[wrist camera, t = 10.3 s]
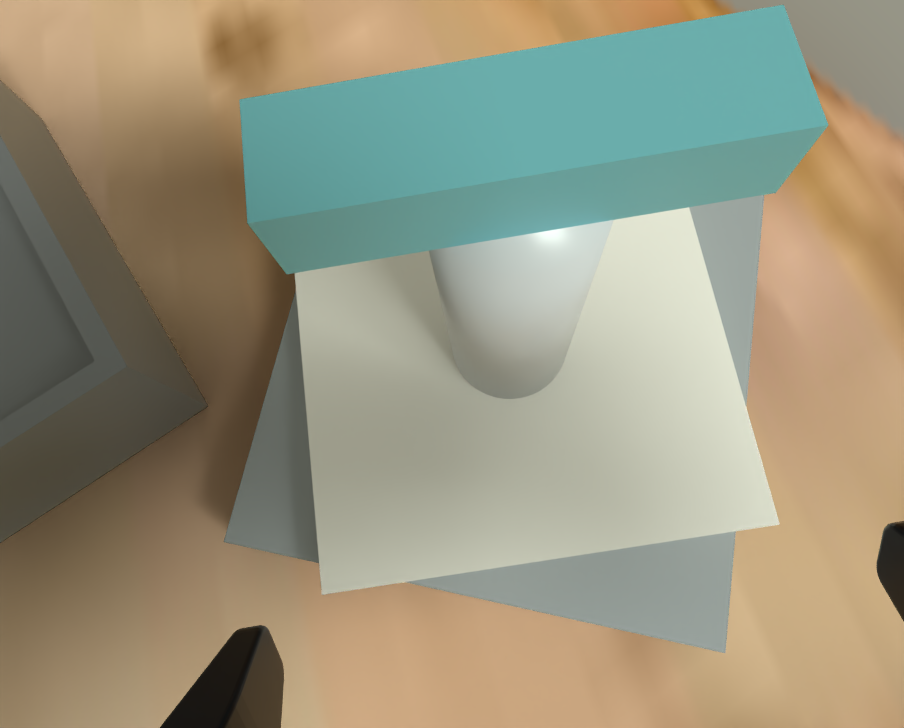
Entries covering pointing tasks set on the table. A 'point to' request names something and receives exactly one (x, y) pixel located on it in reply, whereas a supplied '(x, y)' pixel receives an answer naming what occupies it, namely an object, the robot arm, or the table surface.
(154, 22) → the table surface
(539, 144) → the cover
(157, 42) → the table surface
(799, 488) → the table surface
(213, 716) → the robot arm
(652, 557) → the pad
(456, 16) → the table surface
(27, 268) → the housing
